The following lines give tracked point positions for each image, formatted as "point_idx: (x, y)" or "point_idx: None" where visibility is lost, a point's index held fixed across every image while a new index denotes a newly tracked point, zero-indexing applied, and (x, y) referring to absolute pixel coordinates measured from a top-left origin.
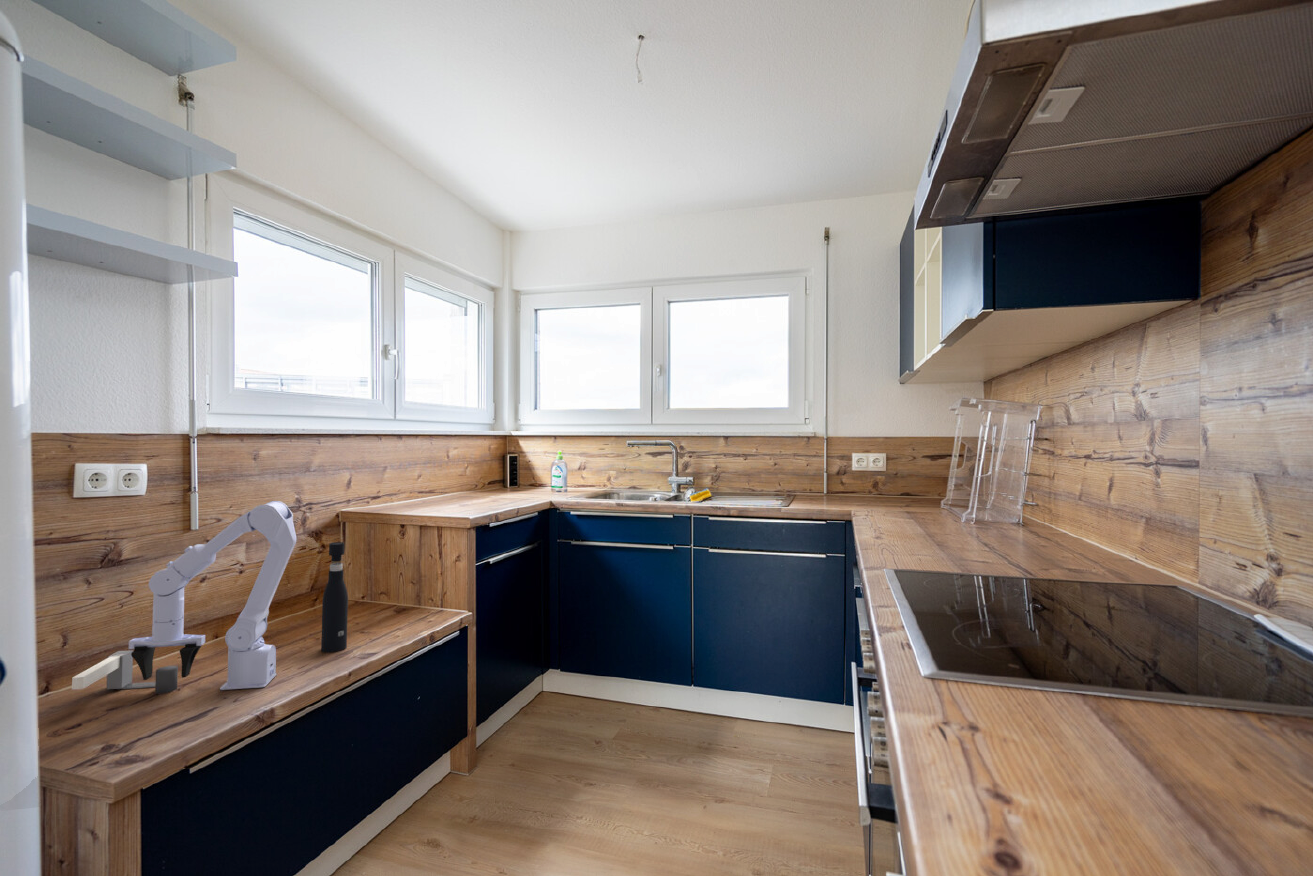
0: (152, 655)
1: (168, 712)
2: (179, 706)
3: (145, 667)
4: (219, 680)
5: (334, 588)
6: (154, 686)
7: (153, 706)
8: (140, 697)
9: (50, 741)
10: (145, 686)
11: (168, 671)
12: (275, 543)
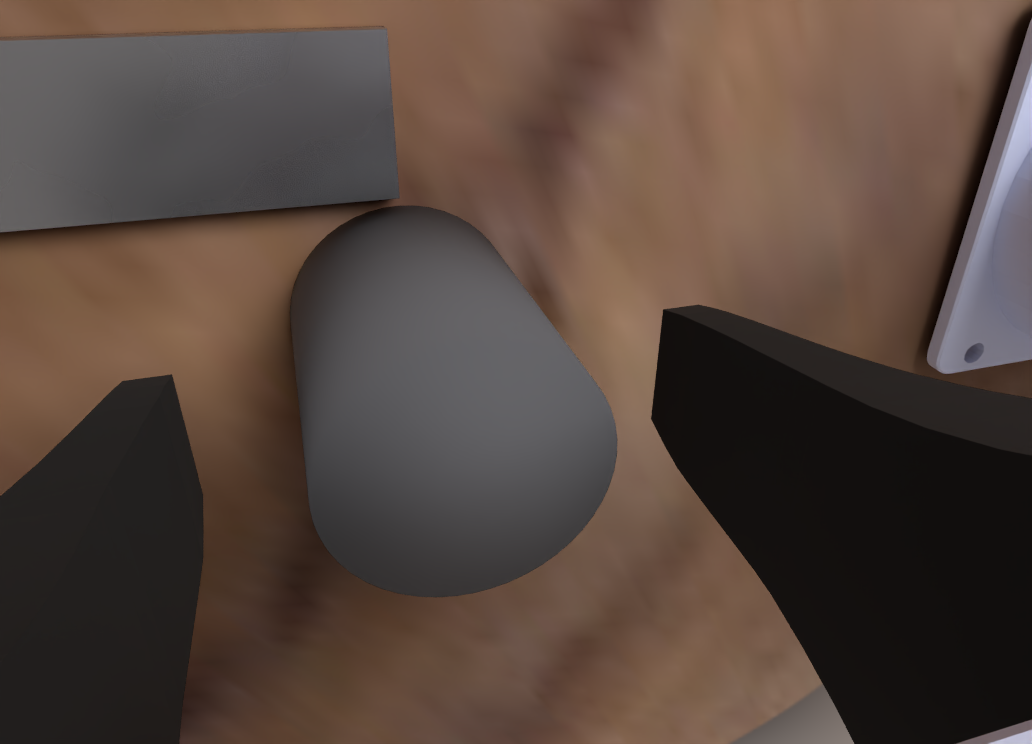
0: (76, 637)
1: (662, 695)
2: (698, 620)
3: (178, 684)
4: (889, 52)
5: None
6: (169, 210)
7: (506, 638)
8: (239, 494)
9: None
10: (37, 228)
11: (548, 556)
12: None
